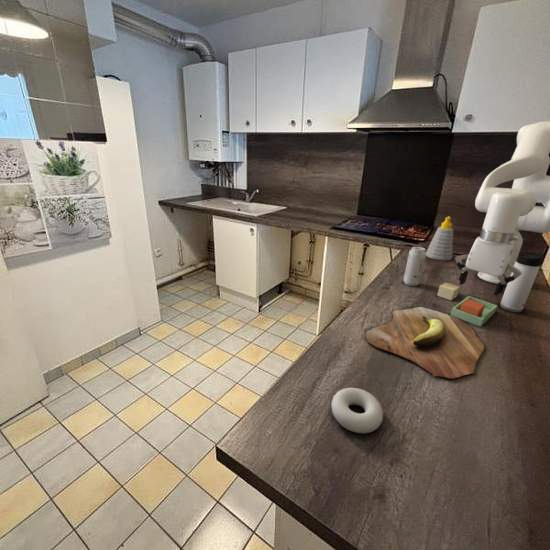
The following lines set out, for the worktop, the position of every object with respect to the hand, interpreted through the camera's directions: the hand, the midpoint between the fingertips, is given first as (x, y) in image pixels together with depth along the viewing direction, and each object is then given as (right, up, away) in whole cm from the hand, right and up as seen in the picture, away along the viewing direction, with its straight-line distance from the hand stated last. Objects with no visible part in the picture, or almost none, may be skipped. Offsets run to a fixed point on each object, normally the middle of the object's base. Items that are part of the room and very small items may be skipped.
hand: (478, 288), depth 92 cm
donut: (-48, -24, -33) cm, 63 cm away
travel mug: (+18, -7, +10) cm, 22 cm away
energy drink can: (-9, +1, +27) cm, 29 cm away
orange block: (0, -9, +3) cm, 9 cm away
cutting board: (-20, -14, -7) cm, 25 cm away
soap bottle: (+21, +14, +60) cm, 65 cm away
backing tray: (+2, -9, +5) cm, 10 cm away
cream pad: (0, -4, +17) cm, 18 cm away
